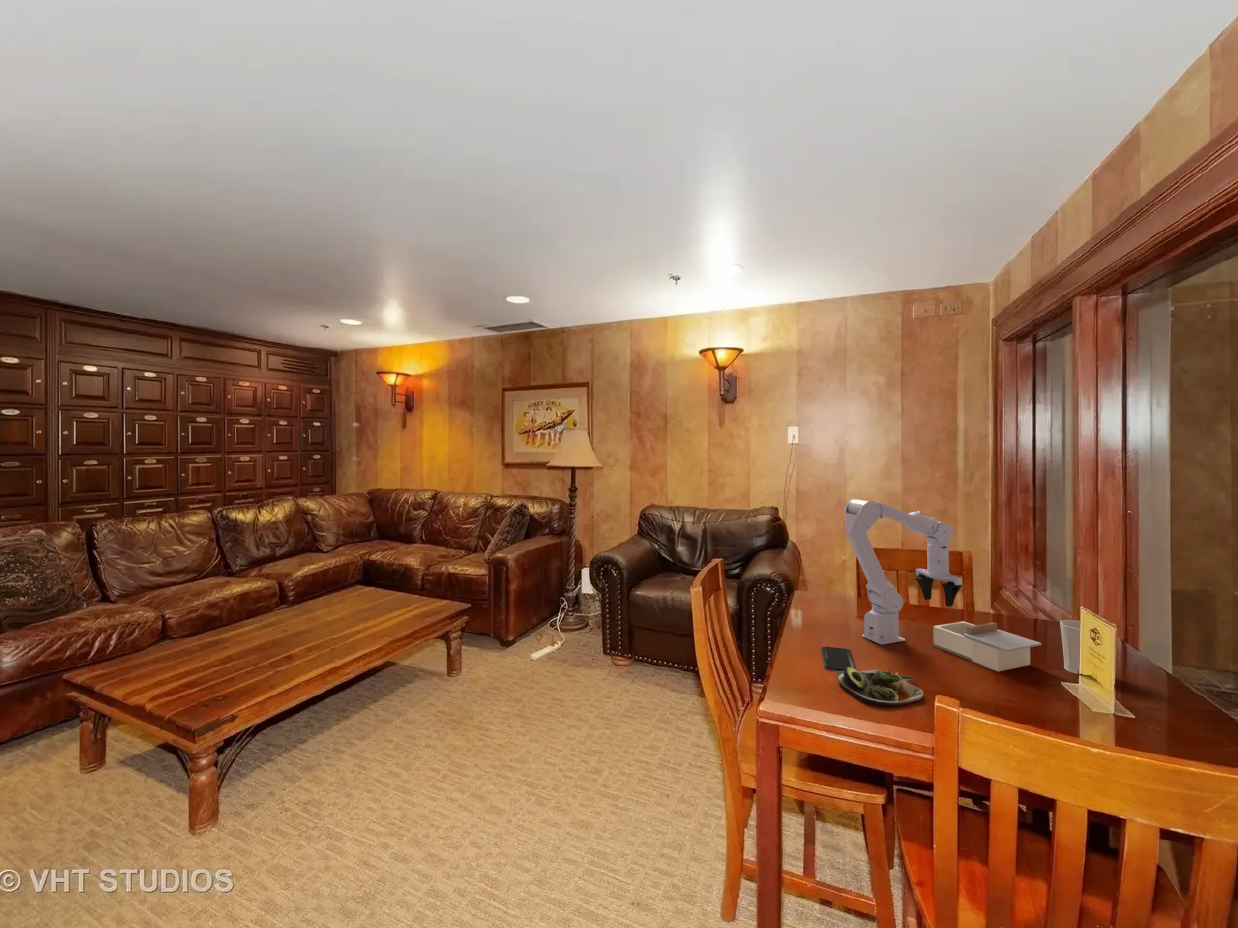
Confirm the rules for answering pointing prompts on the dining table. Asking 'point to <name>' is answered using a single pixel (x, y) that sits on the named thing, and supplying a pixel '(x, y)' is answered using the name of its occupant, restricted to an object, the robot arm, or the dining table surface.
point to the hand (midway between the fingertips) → (938, 602)
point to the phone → (837, 658)
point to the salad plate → (878, 686)
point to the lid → (998, 637)
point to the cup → (1071, 644)
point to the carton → (977, 648)
